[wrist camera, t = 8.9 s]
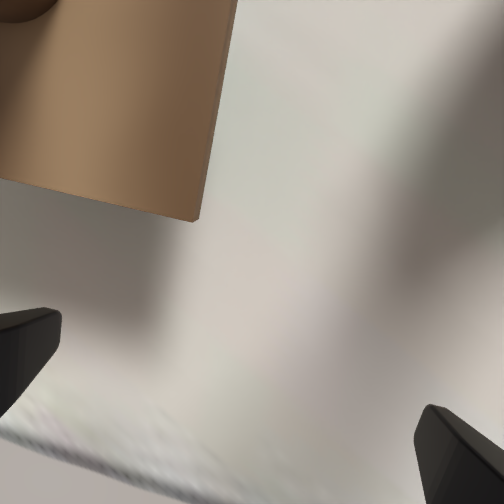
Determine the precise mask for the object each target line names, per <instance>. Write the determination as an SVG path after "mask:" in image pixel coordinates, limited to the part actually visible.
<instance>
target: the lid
mask: <svg viewBox="0 0 504 504" xmlns="http://www.w3.org/2000/svg"><path fill="white" fill-rule="evenodd" d="M237 2H238V0H0V178H3V179H8V180H12V181H16V182H20V183H25V184H29V185H33V186H38V187H42V188H46V189H50V190H55V191H59V192H63V193H68V194H72V195H76V196H80V197H85V198H89V199H93V200H98V201H102V202H106V203H111V204H115V205H119V206H123V207H128V208H132V209H136V210H141V211H145V212H149V213H153V214H158V215H162V216H166V217H171V218H175V219H179V220H183V221H188V222H192V223H193V222H194V221H196V220H198V219H199V215H200V209H201V203H202V198H203V192H204V187H205V181H206V175H207V170H208V164H209V159H210V153H211V147H212V142H213V136H214V130H215V125H216V119H217V114H218V108H219V102H220V97H221V91H222V86H223V80H224V74H225V69H226V63H227V58H228V52H229V46H230V41H231V35H232V30H233V24H234V18H235V13H236V7H237Z"/></svg>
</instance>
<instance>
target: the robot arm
mask: <svg viewBox="0 0 504 504" xmlns="http://www.w3.org/2000/svg"><path fill="white" fill-rule="evenodd" d="M61 323H62V315H61V313H60V312H59V311H58V310H54V309H50V308H46V307H42V308H35V309H29V310H23V311H16V312H10V313H4V314H0V418H1V417H2V416H3V414H4V413H5V412H6V411H7V410H8V409H9V408H10V407H11V406H12V405H13V404H14V403H15V402H16V400H17V399H18V398H19V397H20V396H21V395H22V393H23V392H24V391H25V390H26V388H27V387H28V386H29V385H30V383H31V382H32V381H33V380H34V378H35V377H36V376H37V374H38V373H39V372H40V371H41V369H42V368H43V367H44V366H45V364H46V363H47V362H48V361H49V359H50V358H51V357H52V356H53V354H54V353H55V352H56V350H57V348H58V346H59V343H60V334H61ZM414 446H415V451H416V456H417V461H418V466H419V471H420V476H421V481H422V486H423V491H424V496H425V500H426V504H504V450H503V449H501V448H500V447H498V446H497V445H496V444H494V443H493V442H492V441H490V440H489V439H488V438H486V437H485V436H484V435H482V434H481V433H479V432H478V431H477V430H475V429H474V428H473V427H471V426H470V425H469V424H467V423H466V422H465V421H463V420H462V419H461V418H459V417H458V416H456V415H455V414H454V413H452V412H451V411H450V410H448V409H447V408H444V407H440V406H436V405H432V404H429V405H427V406H426V407H425V408H424V410H423V413H422V415H421V418H420V420H419V423H418V425H417V428H416V430H415V433H414Z"/></svg>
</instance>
